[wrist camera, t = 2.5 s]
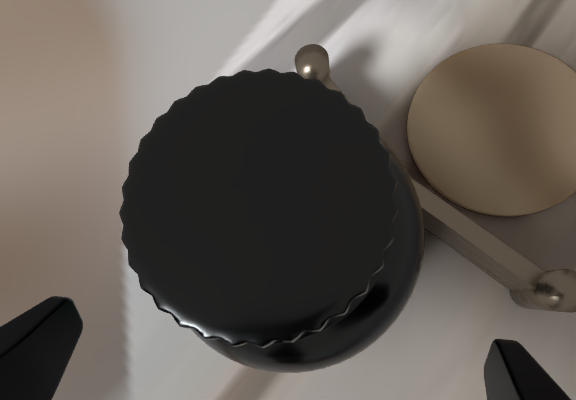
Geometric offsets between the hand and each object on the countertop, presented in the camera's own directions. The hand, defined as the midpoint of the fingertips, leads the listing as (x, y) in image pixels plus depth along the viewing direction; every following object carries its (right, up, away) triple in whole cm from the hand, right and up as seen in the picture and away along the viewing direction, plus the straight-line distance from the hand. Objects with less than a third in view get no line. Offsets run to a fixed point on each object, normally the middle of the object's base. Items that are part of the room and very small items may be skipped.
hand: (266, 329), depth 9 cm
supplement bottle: (+2, 0, +10) cm, 10 cm away
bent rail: (+6, +3, +10) cm, 12 cm away
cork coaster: (+10, +6, +10) cm, 15 cm away
